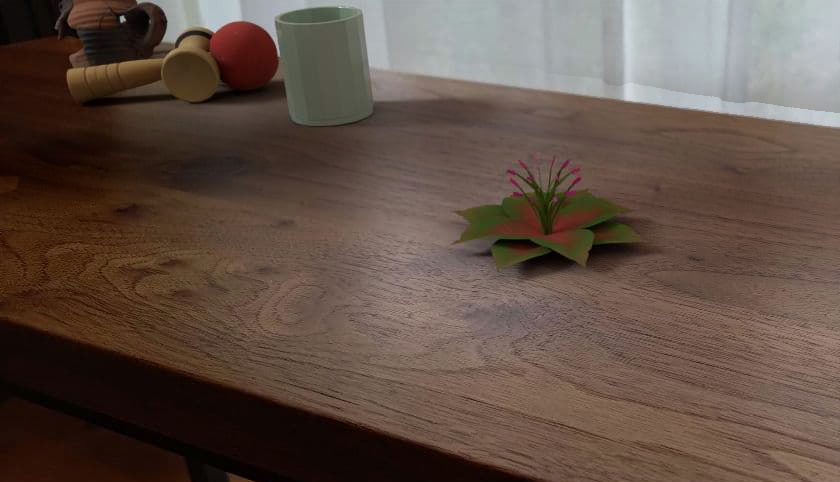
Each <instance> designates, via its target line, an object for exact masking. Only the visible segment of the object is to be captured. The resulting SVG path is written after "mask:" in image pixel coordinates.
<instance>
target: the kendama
mask: <svg viewBox="0 0 840 482" xmlns="http://www.w3.org/2000/svg"><path fill="white" fill-rule="evenodd" d="M279 64H280V59H279V53H278V48H277V45H276V42H275V41H274V39H273V37H272V35H270V32H268V31H267V30H266V29H264V27H262V26H260V25H258V24H256V23H253V22H250V21H246V20H245V21H244V20H237V21H231V22H228V23H226V24H225V25H222V26H221V27H220V28H219V29H217V30H216V31H215V32H214V31H213V30H211V29H209V28H206V27H202V26H192V27H188V28H185V29H184V30H183V31H181V32H180V33H179V35H178V36H177V37H176V39H175V41H174V43H173V49H172V50H171V51H170V52H169V53H167V54H166V56H165V58H148V59H138V60H137V59H136V60H134V61H129V62H122V63H120V64H119V63H114V64H109V65H101V66H93V67H88V68H86V67H85V68H75V69H74V68H69V69H67V71H66V82H67V86H68V89H69V92H70V94H71V95H72V97H73V99H74V100H75V101H76V103H79V104H83V103H87V102H90V101H93V100H97V99H100V98H103V97H107V96H110V95H111V96H112V95H114V94H117V93H121V92H125V91H127V90H134V89H136V88H141V87H144V86H147V85H150V84H153V83H157V82H159V81H162V83H163V85H164V87H165V88H166V90H167V91H168V92H169V93H170V94H171V95H172V96H174V97H175V98H177V99H179V100H181V101H184V102H187V103H201V102H204V101H207V100H209V99H210V98H211V97H213V95H214V94H215V93H216V92H217V90H218V88H219V85H220V83H221V84H225V85H226V86H228V87H230V88H232V89H234V90H238V91H254V90H257V89H259V88H262V87H264V86H265V85H267V84H269V82H270V81H272V79H273V78H274V77H275V75H276V74H277V71H278V69H279Z"/></svg>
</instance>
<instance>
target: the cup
mask: <svg viewBox="0 0 840 482" xmlns="http://www.w3.org/2000/svg"><path fill="white" fill-rule="evenodd" d="M274 27H275V33H276V38H277V45H278V51H279V57H280V63H281V68H282V76H283V80H284V88H285V94H286V98H287V105H288V112H289V117H290V120H291V121H292V122H293V123H296V124H298V125H303V126H307V127H308V126H309V127H331V126H341V125H347V124H351V123H355V122H358V121H359V122H360V121H362V120H364V119H366V118H368V117H371V115H373V114H374V112H375V107H374V106H375V103H374V95H373V89H372V82H371V81H372V80H371V71H370V64H369V55H368V47H367V46H368V45H367V38H366V31H365V23H364V13H363V11H362V9H360V8H357V7H354V6H345V5H324V6H323V5H322V6H313V7H305V8H297V9H293V10H289V11H285V12H282V13H279V14H277V15H276V16H274Z"/></svg>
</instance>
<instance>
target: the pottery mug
mask: <svg viewBox="0 0 840 482" xmlns="http://www.w3.org/2000/svg"><path fill="white" fill-rule="evenodd" d="M58 9H59V11H60V15H59V17H58V19H57V20H56V22H55V26H54V30H58V38H57V39H58V40H59V41H62V40H64V39H65V38H66V37H71V38H75V39H79V41H80V42H81V44H82V48H81V49H80V50H78V51H76V52H75V53H72V54H70V55H69V62H70V64H71V66H72V69H75V68H85V67H86V68H88V67H93V66H101V65H109V64H114V63H119V64H120V63H122V62H129V61H135V59H136V55H137V54H139V55H140V57H141V58H142V59H143V60H147V59H151V57H153V54H154V50H155V48H156V47H159V46H160V45H161V43H162V41H163V39H164V37H165V36H166V33H167V29H168V18H167V16H166V13H165V11H164V9H162V7H161V6H160V5H157V4H155V3H153V2H150V1H142V2H140V3H138V1H137V0H62V1H61V2H60V3H59V4H58ZM121 17H123V18H124V19H125V20H124V21H122V22H121Z"/></svg>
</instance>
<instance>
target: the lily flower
mask: <svg viewBox="0 0 840 482" xmlns="http://www.w3.org/2000/svg"><path fill="white" fill-rule="evenodd" d="M556 156H557V155H556V154H554V155H553V158H552V161H551V166H550V169H549V175H548V177H549V178H548V185H547V186H548V187H547V190H546V192H545V191H543V185H542V179H541V172H540V171H541V170H540V168H539V163H538V160H537V157H536V155H535V154H534V155H533V157H534V160H535V164H536V167H537V171H538V177H539V184H538V183H537V182H536V178H535V174H534V172H533V170H529V169H528V166H527V165H526V164H525V163H524V162H523V161H522V160H520V159H519V160H517V162H518V163H519V166H521V168H523V170H525V171H526V172H527V174H528V176H526V178H525V177H524V176H522V175H520V174H519V173H517V172H516V171H515V170H513V169H512V170H511V169H506V172H505V173H506V174H509V175H511V176H517V177H518V178H520V179H521V180H522V181H523V182H524V183H526V184H527V185H528V186H529V187H530V188H531V189H532V190H533V191H531V192H525V191H524V190H523V188H522V187H521V186H520V185H519V183H518V181H516V180H515V179H514V178H513V177H510V178H509V183H511V184H512V185H513V186H515V187H516V188H518V190H519V191H520V192H519V191H512V194H511V195H509V196H506V197H504V198H503V199H502V200H501V204H483V205H478V206H473V207H469V208H466V209H464V210H462V209H460V210H451V212H452V213H454V214H456V215H458V216H460V217H462V218H463V219H464V220H466V221H468V222H469V223H470V224H469V225H468V226H467V227H466V228H465V229H464V231H463V232H462V233H461V234H460V237H459V239H456V240H454V241H453V242H451V244H450V245H449V246H453V245H459V244H462V243H463V244H464V243H468V242H472V241H478V240H482V239H487V238H488V239H496V240H495V241H494V242H493V243H492V244H491V247H490V251H491V255H492V258H493V261H494V262H495V263H496V265H495V266H496V267H495V268H496V269H495V272H498V271H500V270H502V269H505V268H508V267H510V266H513V265H516V264H517V263H521V262H524V261H528V260H530V259H532V258H536V257H540V256H544V255H546V254H549V253H552V252H553V251H555V252H556V253H558V254H560V255H562V256H564V257H565V258H568V259H570V260H572V261H575V262H576V264H579V265H580V266H581V267H583V268H586V265H587V263H586V262H587V261H588V258H589V255H590V253H589V251H590V250H591V249H592V246H593V245H603V244H613V243H614V244H621V243H622V244H623V243H650V241H649V240H647V239H644V238H643V236H641V235H640V234H639V233H635V231H634V229H632V228H631V227H629V226H628V225H627V224H624V223H619V222H613V221H608V220H609V219H611V218H613V217H615V216H616V215H618V214H625V213H635V212H636V213H637V212H639V211H638V210H634V209H630V208H628V207H626V206H624V205H620V204H616V203H615V202H613V201H611V200H608V199H606V198H602V197H597V198H596V196H595V195H594V194H593V193H592V192H590V187H587V188H583V189H575V190H572V188H573V187H574V186H576V185H578V183H579V182H581V181H582V180H581V179H582V176H577V177H576V178H575V179H574V180H573V181H572V183H571V185H569V187H568V188H567V190H566V191H560V192H557V193H556V191H557V188H558V187H559V186H560V185H561V184H562V183H563V182H564V181H565V180H566V179H567V178H568V177H569V176H571V175H574V174H576V173H578V172H579V173H580V172H581V167H577V168H573V169H571V171H569V172H568V173H567V174H566V175H564V176H562V178H560V177H561V175H562V174H561V173H562V171H563V170H564V169H566V167H568V165H570V162H571V161H572V160H571V158H569V159H566V161H564V162H563V163H562V165H561V166H560V167H561V168H560V169H559V170H558V172H557V173H556V174H555V175H554V177H553V178H552V170H553V165H554V163H555V160H556ZM539 185H540V186H539ZM552 185H553V186H552Z"/></svg>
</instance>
